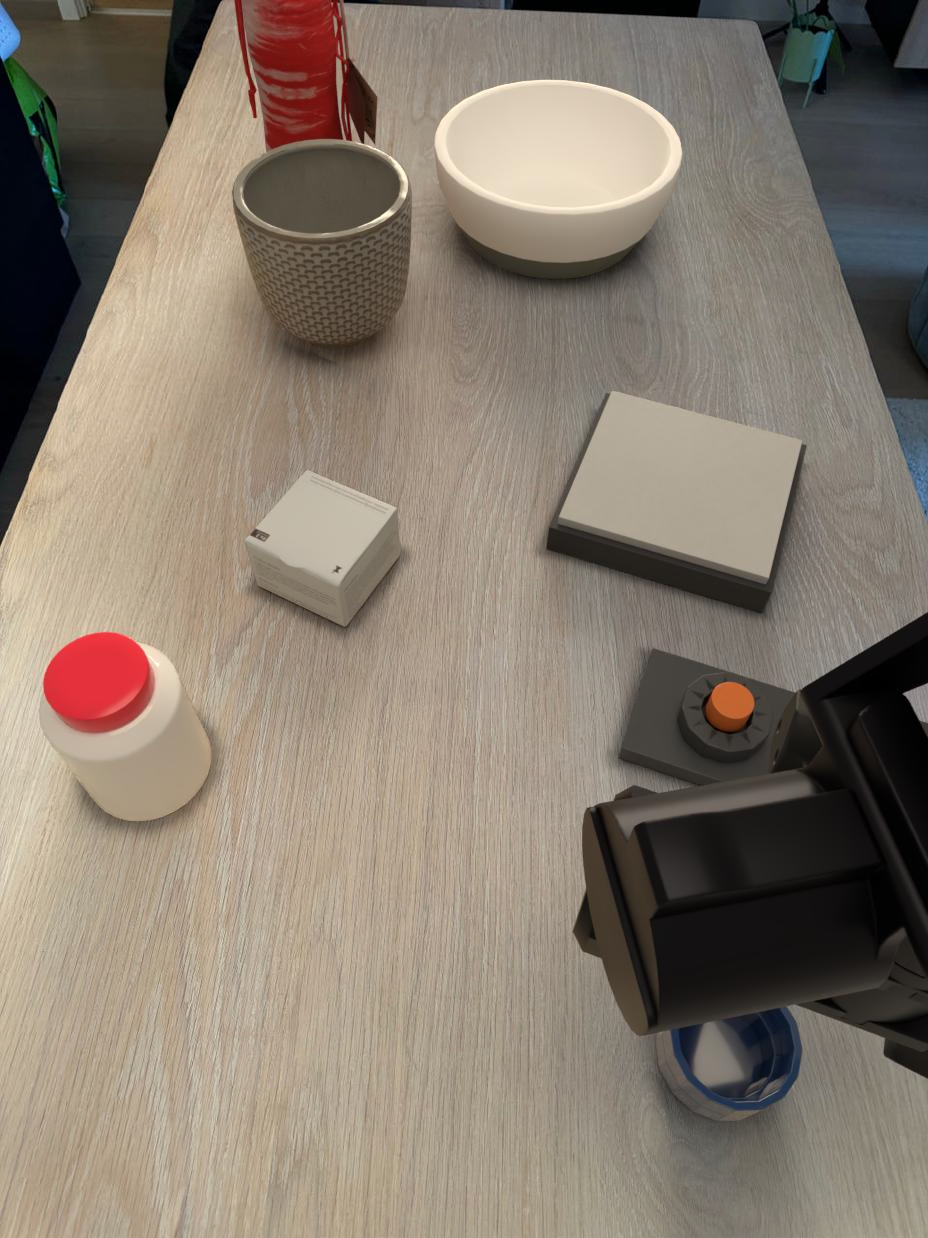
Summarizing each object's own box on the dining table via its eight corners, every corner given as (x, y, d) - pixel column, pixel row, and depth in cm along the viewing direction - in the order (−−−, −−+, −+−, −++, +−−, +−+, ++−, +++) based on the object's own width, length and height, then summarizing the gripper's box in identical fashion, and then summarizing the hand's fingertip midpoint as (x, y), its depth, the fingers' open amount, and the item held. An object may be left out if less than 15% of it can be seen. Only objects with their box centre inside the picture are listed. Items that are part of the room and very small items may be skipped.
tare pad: (811, 709, 62) (826, 686, 60) (790, 816, 58) (805, 796, 56) (649, 658, 64) (657, 634, 62) (617, 758, 60) (625, 736, 58)
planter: (393, 388, 79) (384, 251, 68) (235, 362, 81) (203, 224, 70) (432, 287, 87) (430, 149, 76) (287, 265, 88) (265, 127, 78)
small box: (403, 553, 69) (400, 507, 65) (345, 631, 65) (338, 587, 61) (315, 513, 71) (306, 465, 67) (253, 586, 67) (240, 541, 63)
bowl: (605, 328, 84) (619, 244, 77) (390, 249, 90) (385, 164, 83) (700, 202, 95) (720, 118, 88) (503, 139, 101) (507, 56, 94)
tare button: (750, 703, 60) (758, 689, 58) (742, 737, 58) (750, 724, 57) (710, 690, 60) (716, 676, 59) (701, 724, 59) (707, 710, 57)
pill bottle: (85, 832, 57) (16, 751, 48) (87, 721, 61) (24, 626, 52) (215, 808, 58) (171, 724, 49) (208, 700, 62) (167, 604, 53)
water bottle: (394, 193, 95) (379, -105, 74) (382, 240, 91) (363, -62, 70) (276, 184, 96) (229, -113, 75) (259, 231, 91) (203, -72, 70)
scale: (797, 467, 75) (810, 437, 72) (761, 613, 67) (775, 585, 64) (601, 415, 78) (607, 384, 75) (545, 548, 70) (549, 519, 67)
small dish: (785, 1017, 52) (811, 998, 48) (763, 1142, 48) (789, 1132, 44) (670, 974, 53) (687, 952, 49) (641, 1093, 49) (657, 1079, 46)
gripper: (1256, 753, 30) (1014, 906, 43) (684, 583, 34) (618, 771, 47) (1296, 1121, 24) (1002, 1170, 37) (597, 868, 28) (550, 993, 41)
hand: (779, 1003), depth 41 cm, fingers open, 9 cm apart
